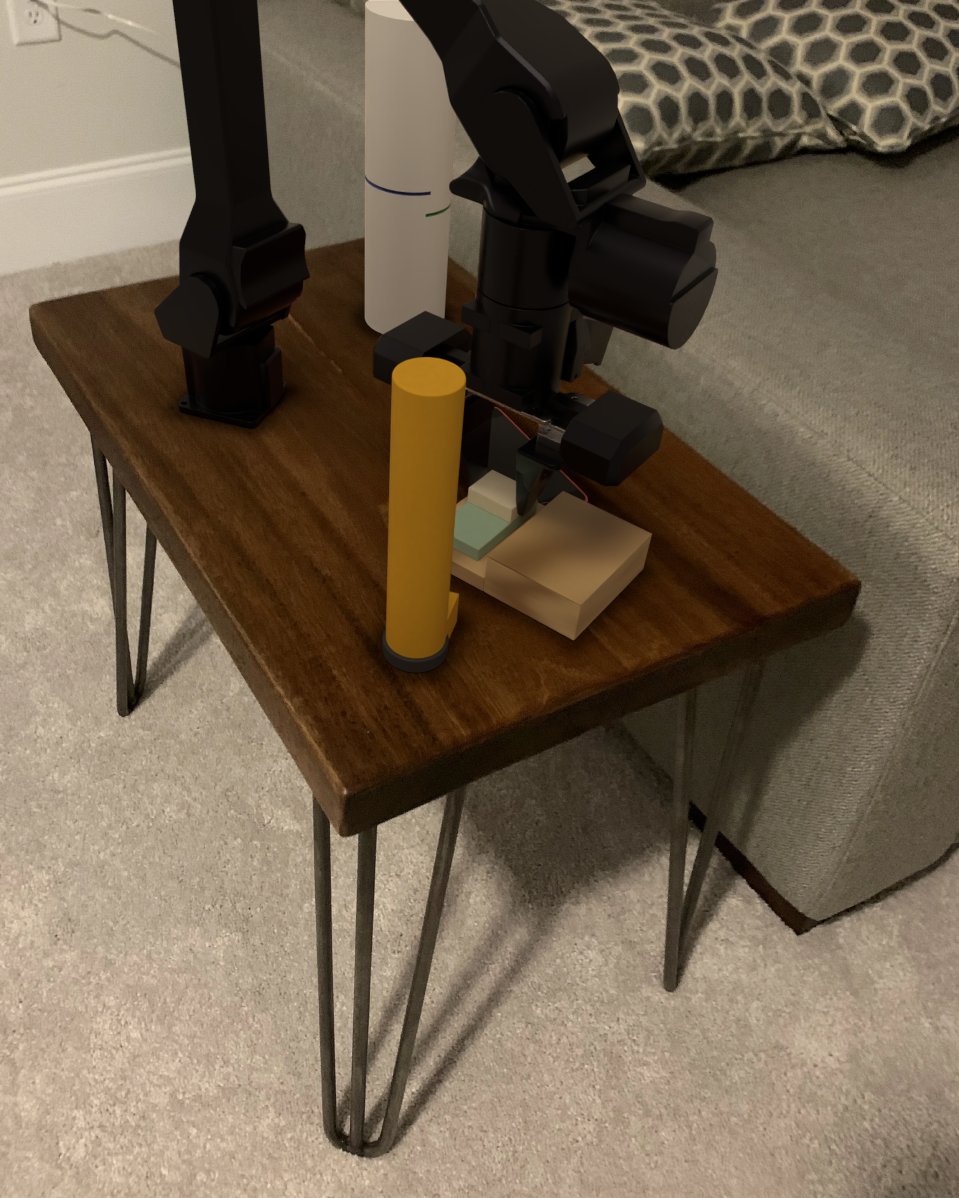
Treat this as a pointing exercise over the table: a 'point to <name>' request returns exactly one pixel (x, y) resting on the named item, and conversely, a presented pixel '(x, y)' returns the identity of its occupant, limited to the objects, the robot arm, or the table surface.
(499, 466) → the smartphone
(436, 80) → the cylindrical container
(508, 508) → the two-tone stepped block
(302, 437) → the table surface
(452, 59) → the robot arm
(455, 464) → the tall yellow cylinder post
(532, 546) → the flat tan slab box
